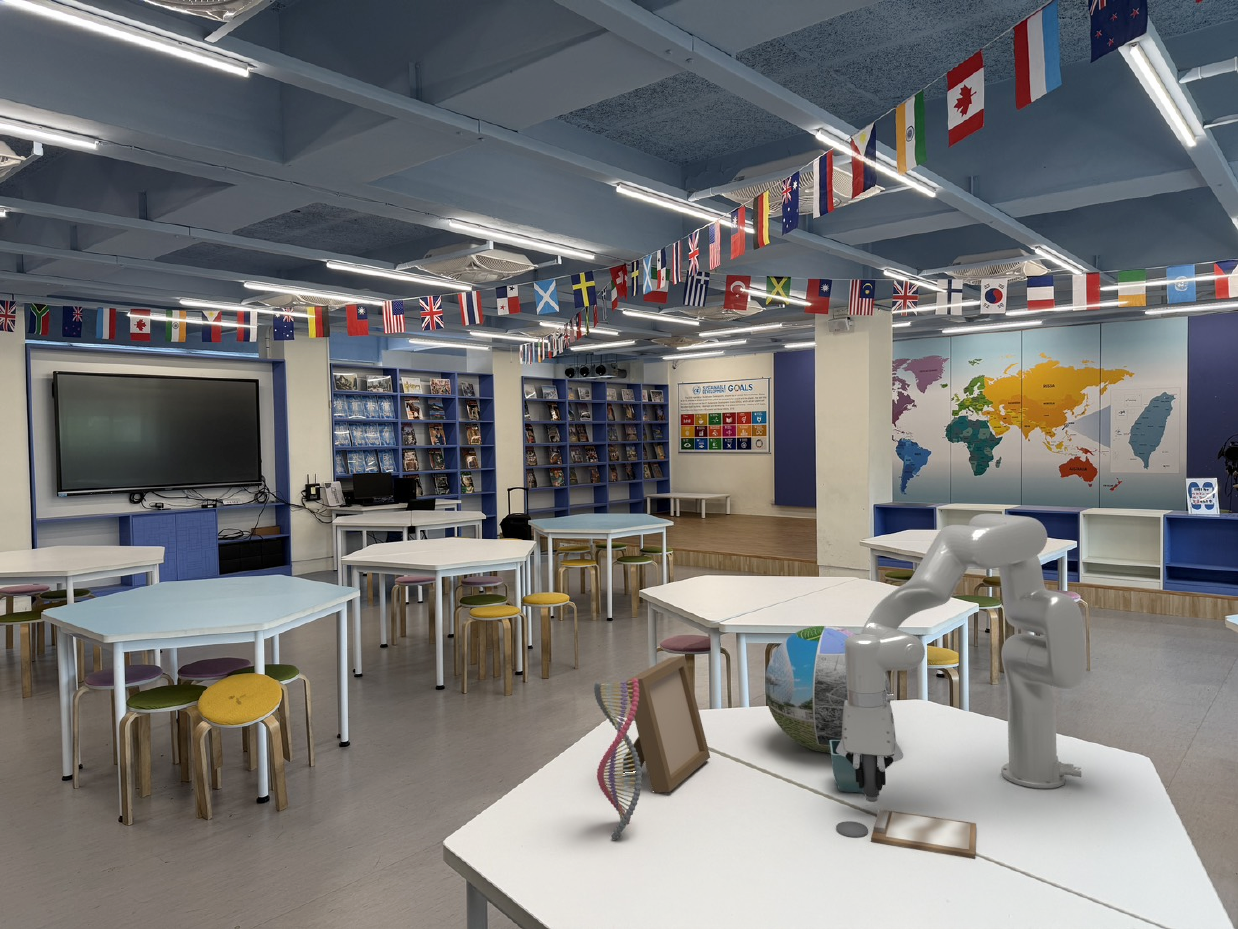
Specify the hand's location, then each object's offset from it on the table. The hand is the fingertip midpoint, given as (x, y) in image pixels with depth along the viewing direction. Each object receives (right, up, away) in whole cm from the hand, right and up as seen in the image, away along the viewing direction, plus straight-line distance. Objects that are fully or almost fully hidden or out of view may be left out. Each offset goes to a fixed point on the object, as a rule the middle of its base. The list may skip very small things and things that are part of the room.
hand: (871, 786), depth 168 cm
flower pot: (0, -6, +13) cm, 14 cm away
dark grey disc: (-6, -6, -7) cm, 11 cm away
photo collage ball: (+1, -5, +37) cm, 37 cm away
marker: (0, -3, 0) cm, 3 cm away
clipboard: (+7, -6, -9) cm, 13 cm away
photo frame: (-41, -7, +25) cm, 48 cm away
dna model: (-51, -8, -4) cm, 51 cm away
